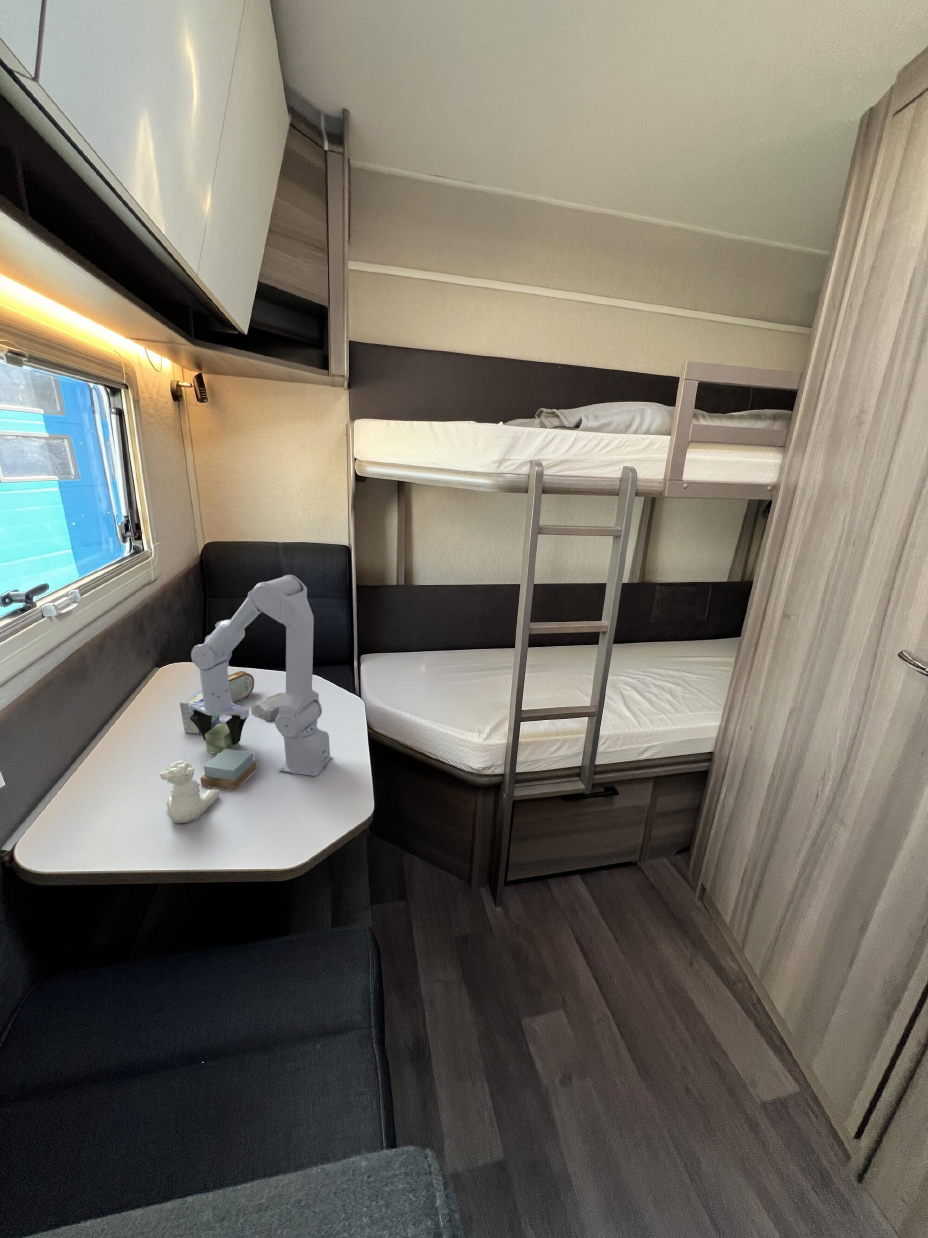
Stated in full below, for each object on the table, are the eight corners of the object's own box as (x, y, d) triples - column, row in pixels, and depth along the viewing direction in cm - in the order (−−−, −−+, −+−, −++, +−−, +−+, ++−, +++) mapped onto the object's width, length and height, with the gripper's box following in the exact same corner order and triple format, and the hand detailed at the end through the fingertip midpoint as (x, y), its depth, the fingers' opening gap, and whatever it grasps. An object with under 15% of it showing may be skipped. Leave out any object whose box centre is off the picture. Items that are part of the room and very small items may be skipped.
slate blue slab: (254, 762, 106) (253, 752, 105) (234, 780, 99) (233, 770, 98) (226, 758, 107) (225, 748, 106) (205, 776, 100) (203, 766, 99)
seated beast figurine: (221, 795, 97) (214, 744, 94) (212, 823, 89) (204, 769, 86) (169, 802, 95) (161, 750, 91) (155, 831, 87) (145, 776, 83)
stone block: (248, 720, 131) (270, 723, 126) (245, 703, 130) (267, 706, 125) (284, 705, 141) (305, 708, 136) (281, 690, 140) (303, 692, 135)
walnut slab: (257, 771, 106) (256, 761, 106) (235, 793, 99) (234, 783, 98) (225, 766, 108) (224, 757, 107) (201, 787, 100) (200, 777, 99)
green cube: (239, 744, 116) (237, 726, 115) (226, 755, 111) (223, 736, 110) (221, 741, 117) (218, 723, 115) (207, 752, 112) (204, 734, 111)
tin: (250, 691, 144) (247, 666, 142) (257, 694, 143) (255, 668, 140) (205, 711, 131) (201, 684, 128) (213, 714, 130) (209, 686, 127)
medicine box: (198, 734, 119) (194, 704, 117) (183, 732, 120) (179, 702, 118) (220, 720, 127) (216, 691, 124) (205, 718, 127) (201, 689, 125)
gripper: (254, 686, 112) (259, 735, 116) (200, 679, 114) (206, 728, 118) (235, 698, 106) (241, 751, 109) (179, 691, 108) (186, 743, 112)
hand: (222, 740), depth 113 cm, fingers open, 7 cm apart
